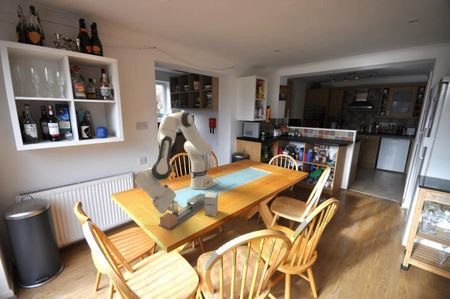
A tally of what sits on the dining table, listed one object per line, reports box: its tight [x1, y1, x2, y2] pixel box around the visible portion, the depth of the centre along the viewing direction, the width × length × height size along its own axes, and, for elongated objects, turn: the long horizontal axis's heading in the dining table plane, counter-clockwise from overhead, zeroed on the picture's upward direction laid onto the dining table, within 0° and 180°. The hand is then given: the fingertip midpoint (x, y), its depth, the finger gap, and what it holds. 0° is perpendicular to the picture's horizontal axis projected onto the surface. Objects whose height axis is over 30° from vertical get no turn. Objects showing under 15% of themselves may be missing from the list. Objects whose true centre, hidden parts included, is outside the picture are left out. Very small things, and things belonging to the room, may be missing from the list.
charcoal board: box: [158, 203, 205, 232], centre depth 125 cm, size 37×10×1 cm, turn 150°
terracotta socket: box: [159, 212, 178, 228], centre depth 112 cm, size 6×8×5 cm
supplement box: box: [204, 191, 219, 217], centre depth 125 cm, size 7×7×13 cm
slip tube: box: [171, 200, 193, 217], centre depth 120 cm, size 21×4×10 cm, turn 150°
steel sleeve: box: [186, 193, 206, 211], centre depth 133 cm, size 14×5×5 cm, turn 150°
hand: (176, 209), depth 115 cm, fingers closed on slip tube, 3 cm apart
